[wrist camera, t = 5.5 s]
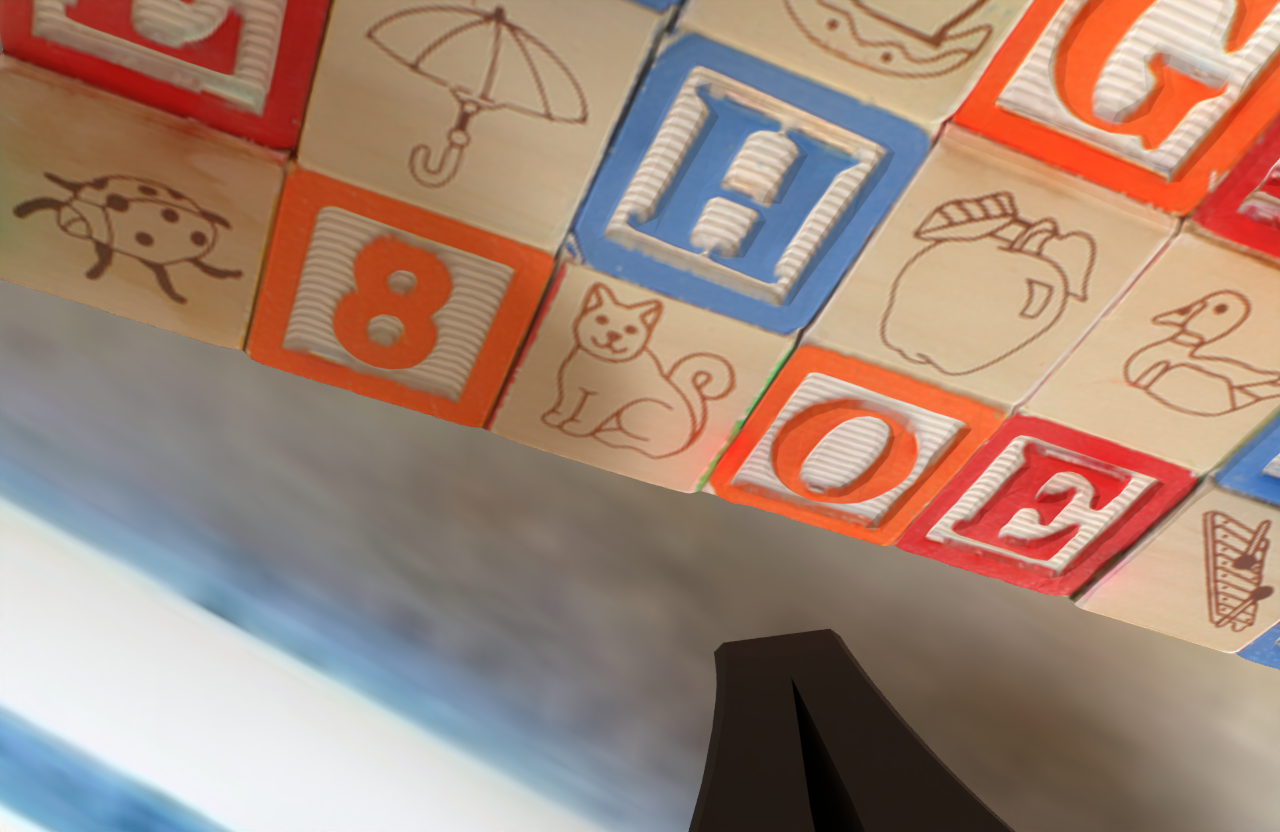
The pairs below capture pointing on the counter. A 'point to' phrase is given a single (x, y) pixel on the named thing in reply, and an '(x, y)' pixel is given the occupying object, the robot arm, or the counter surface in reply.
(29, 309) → the counter surface
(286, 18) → the stack of blocks
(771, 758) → the robot arm
